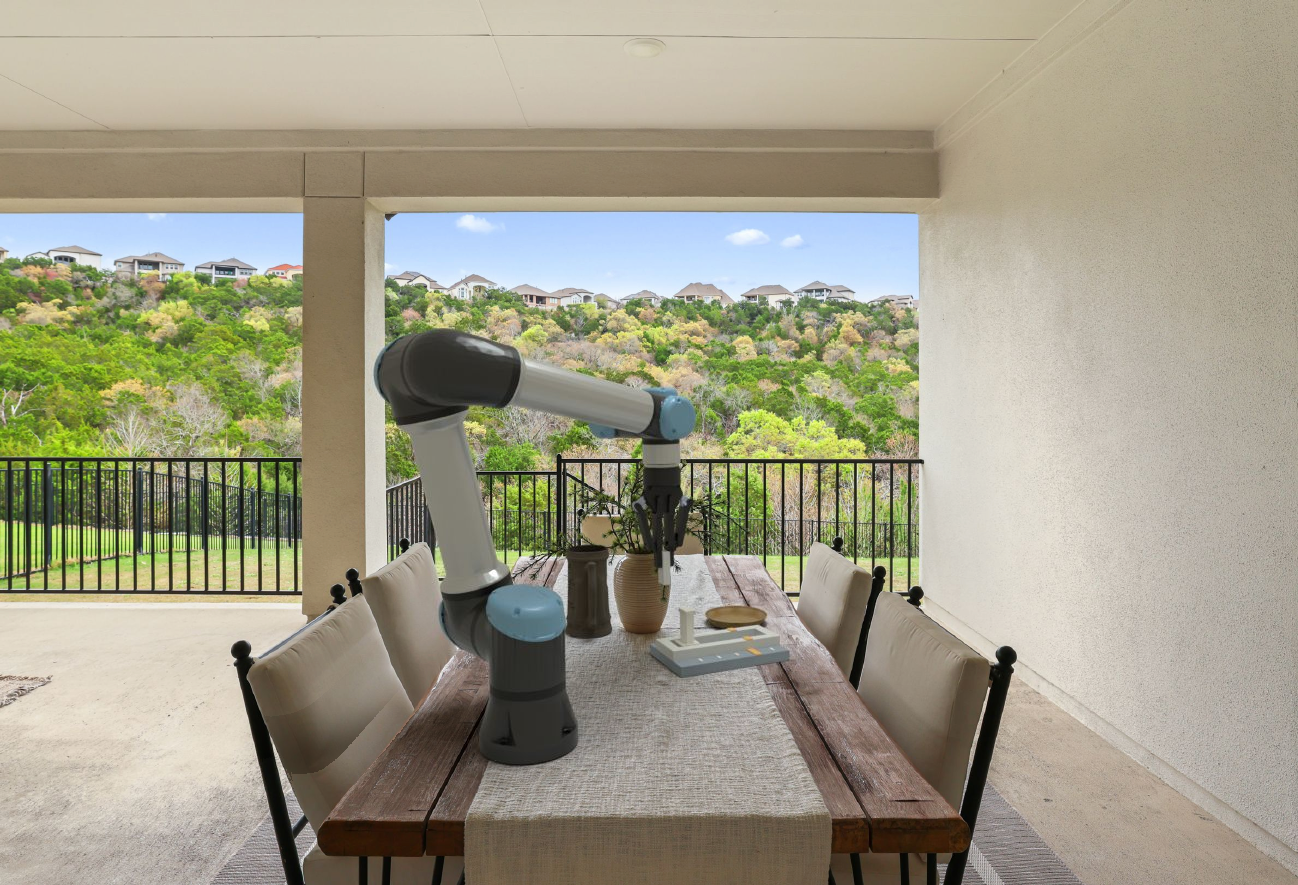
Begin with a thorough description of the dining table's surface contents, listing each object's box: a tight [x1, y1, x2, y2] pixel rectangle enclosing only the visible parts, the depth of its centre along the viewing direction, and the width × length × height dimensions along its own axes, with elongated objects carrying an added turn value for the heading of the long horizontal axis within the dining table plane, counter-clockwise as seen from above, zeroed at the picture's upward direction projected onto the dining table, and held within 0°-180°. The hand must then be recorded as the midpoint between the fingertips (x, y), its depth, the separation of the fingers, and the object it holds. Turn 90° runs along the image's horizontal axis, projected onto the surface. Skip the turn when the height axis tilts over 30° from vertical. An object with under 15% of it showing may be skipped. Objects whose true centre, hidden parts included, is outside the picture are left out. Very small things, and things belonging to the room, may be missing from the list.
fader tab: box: [674, 606, 700, 647], centre depth 153 cm, size 4×4×8 cm
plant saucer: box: [704, 605, 768, 630], centre depth 180 cm, size 15×15×3 cm
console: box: [649, 624, 791, 679], centre depth 156 cm, size 16×24×4 cm, turn 112°
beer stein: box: [565, 544, 613, 639], centre depth 172 cm, size 15×11×20 cm
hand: (664, 583), depth 151 cm, fingers closed
